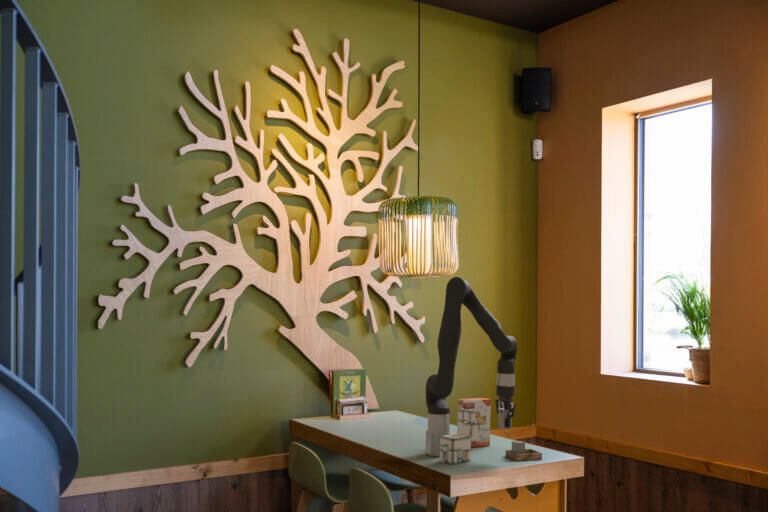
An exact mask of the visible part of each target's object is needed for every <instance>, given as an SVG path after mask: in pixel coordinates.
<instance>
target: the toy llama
mask: <svg viewBox="0 0 768 512" xmlns="http://www.w3.org/2000/svg"><path fill="white" fill-rule="evenodd" d="M457 420H458V434H457V433H454V434H449V435H444V436H440V449H439V450H440V456H439V462H442V463H447V464H448V463H449V465H451V466H452V465H453V464H454V465H457V464H458V461H459V460H461V461H462V462H463V461H464V463H470V462H471V459H472V458H471V455H472V454H471V452H472V451H471V450H472V449H471V448H472V447H471V443H472V442H479V441H480V423H478V422H475V411H473V410H469V411H467V409H458V408H457Z"/></svg>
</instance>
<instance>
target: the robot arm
mask: <svg viewBox="0 0 768 512" xmlns="http://www.w3.org/2000/svg"><path fill="white" fill-rule="evenodd" d="M445 287H446V288H445V301H444V308H443V313H442V318H441V321H440V327H439V332H438V336H437V352H438V353H437V354H438V360H439V363H438V370H437V373H436V374H431V375H430V376H429V377H428V378H427V380H426V382H425V404H426V408H427V430H425V454H426V455H428V456H429V457H440V450H439V449H440V436H444V435H450V428H451V427H450V424H451V423H450V421H451V419H450V417H451V416H450V414H451V413H450V412H451V407H450V406H449V404H448V403H447V399H446V398H448V397H450V395H451V394H452V392H453V388H454V382H455V371H456V369H455V367H456V364H457V363H456V362H457V357H458V349H459V345H460V341H461V335H462V315H461V311H462V307H463V306H462V305H464V307H465V308H467V310H468V311H469V312H470V313H471V315H472V316H473V319H474V320H475V322H476V323H477V324H478V325H479V327H480V328H481V330H483V332H484V333H485V334H486V335H487V336H488V338H489V340H490V342H491V343H492V346H493V347H494V348H495V349H496V350H497V351H498V352H499V353H500V357H499V359H498V360H497V362H496V363H497V365H496V369H497V370H496V373H497V374H496V382H495V385H496V386H495V394H496V396H497V397H498V399H497V398H495V410H496V414H497V415H498V413H505V427H506V428H510V418H511V417H512V418H514V417H515V409H516V403H513V399H512V397H514V396H515V395H516V394H515V393H516V392H515V390H516V386H515V385H516V383H515V382H516V376H515V361H516V358H517V353H518V342H517V339H516V338H515V337H514V336H512V335H506V333H505V332H504V331H503V330H502V328H503V327H502V325H501V324H500V322H499V321H498V319H496V318H495V316H494V315H493V314H492V313H491V312H490V311H489V309H487V308H486V306H485V305H484V304H483V303H482V302H481V301H480V299H479V297H478V296H477V295H476V293H475V291H474V290H473V288H472V286H471V285H470V283H469V282H468V281H467V280H465V279H464V278H462V277H460V276H454V277H452V278H450V279H449V280H448V282H447V284H446V286H445Z"/></svg>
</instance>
